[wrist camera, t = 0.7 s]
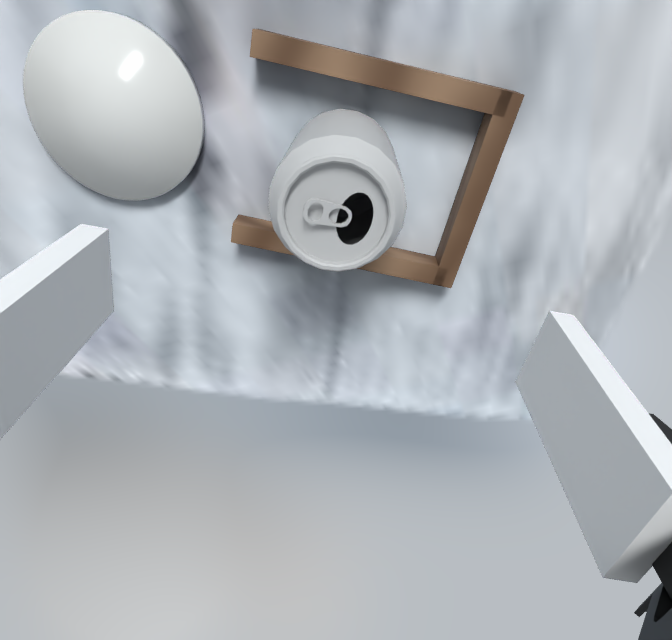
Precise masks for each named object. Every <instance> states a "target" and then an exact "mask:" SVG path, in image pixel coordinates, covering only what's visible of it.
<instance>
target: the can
mask: <svg viewBox="0 0 672 640" xmlns="http://www.w3.org/2000/svg"><path fill="white" fill-rule="evenodd" d="M406 208H407V203H406V195H405V187H404V182H403V179H402V176H401V172H400V169H399V166H398V162H397V159H396V156H395V152H394V149H393V146H392V144H391V142H390V140H389V138H388V136H387V134H386V132H385V131H384V130H383V128H382V127H381V126H380V125H379V124H378V123H377V122H376V121H375V120H374V119H372V118H370V117H369V116H367V115H365V114H363V113H361V112H359V111H354V110H347V109H336V110H331V111H326V112H323V113H321V114H319V115H318V116H316V117H314V118H313V119H311V120H309V121H308V122H307V123H306V124H305V126H304V127H303V128H302V129H301V130H300V132H299V133H298V134H297V135H296V137H295V139H294V140H293V142H292V144H291V145H290V147H289V149H288V151H287V152H286V154H285V156H284V157H283V159H282V161H281V162H280V164H279V166H278V167H277V170H276V172H275V175H274V178H273V180H272V183H271V185H270V188H269V206H268V210H269V214H270V217H271V221H272V225H273V228H274V231H275V232H276V234H277V235H278V237H279V238H280V240H281V241H282V243H283V245H284V246H285V247H286V248H287V249H288V250H289V251H290V252H292V253H293V254H294V255H295V256H296V257H298V258H299V259H300V260H301V261H303V262H304V263H307V264H309V265H311V266H314V267H316V268H318V269H320V270H328V271H336V272H340V271H346V270H352V269H357V268H360V267H362V266H364V265H366V264H368V263H370V262H372V261H374V260H376V259H378V258H379V257H380V256H381V255H382V254H383V253H384V252H385V251H386V250H388V249H389V248H390V247H391V246H392V245H393V243H394V241H395V240H396V238H397V236H398V234H399V232H400V231H401V229H402V227H403V223H404V218H405V213H406Z"/></svg>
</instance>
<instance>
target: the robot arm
mask: <svg viewBox="0 0 672 640" xmlns="http://www.w3.org/2000/svg"><path fill="white" fill-rule="evenodd" d="M113 312H114V303H113V288H112V274H111V259H110V244H109V229H107V228H101V227H96V226H90V225H85V224H80V225H79V226H77V227H76V228H74V229H73V230H71V231H70V232H69V233H67V234H66V235H64V236H63V237H61V238H60V239H58V240H57V241H55V242H54V243H53V244H51V245H50V246H48V247H47V248H45V249H44V250H42V251H41V252H39V253H38V254H37V255H35V256H34V257H32V258H31V259H29V260H28V261H26V262H25V263H23V264H22V265H20V266H19V267H18V268H16V269H15V270H13V271H12V272H10V273H9V274H7V275H6V276H4V277H3V278H2V279H0V440H1V438H2V437H3V436H4V435H5V434H6V433H7V432H8V431H9V429H10V428H11V427H12V426H13V425H14V424H15V423H16V421H17V420H18V419H19V418H20V417H21V416H22V415H23V413H24V412H25V411H26V410H27V409H28V408H29V407H30V406H31V404H32V403H33V402H34V401H35V400H36V399H37V398H38V396H39V395H40V394H41V393H42V392H43V391H44V390H45V389H46V387H47V386H48V385H49V384H50V383H51V382H52V381H53V380H54V378H55V377H56V376H57V375H58V374H59V373H60V372H61V371H62V369H63V368H64V367H65V366H66V365H67V364H68V363H69V361H70V360H71V359H72V358H73V357H74V356H75V355H76V354H77V352H78V351H79V350H80V349H81V348H82V347H83V346H84V344H85V343H86V342H87V341H88V340H89V339H90V338H91V337H92V335H93V334H94V333H95V332H96V331H97V330H98V329H99V327H100V326H101V325H102V324H103V323H104V322H105V321H106V320H107V318H108V317H109V316H110V315H111V314H112V313H113ZM515 382H516V384H517V386H518V389H519V391H520V393H521V395H522V398H523V400H524V402H525V404H526V407H527V409H528V411H529V413H530V416H531V418H532V420H533V422H534V425H535V427H536V429H537V431H538V433H539V436H540V438H541V440H542V442H543V445H544V447H545V449H546V451H547V454H548V456H549V458H550V460H551V463H552V465H553V467H554V469H555V472H556V474H557V476H558V478H559V481H560V483H561V485H562V487H563V490H564V492H565V494H566V496H567V498H568V501H569V503H570V505H571V508H572V510H573V512H574V514H575V517H576V519H577V521H578V523H579V525H580V528H581V530H582V532H583V535H584V537H585V539H586V541H587V543H588V546H589V548H590V550H591V552H592V555H593V557H594V559H595V561H596V564H597V566H598V568H599V570H600V573H601V575H602V577H603V578H609V579H615V580H621V581H628V582H634V583H637V582H638V581H639V580H640V579H641V578H642V577H643V576H644V575H645V574H646V572H647V571H648V570H649V569H650V568H651V567H652V566H653V567H654V569H655V571H656V573H657V574H658V576H659V578H660V580H661V582H662V583H661V584H660V585H659V586H658V587H657V588H656V589H655V591H654V592H653V593H652V594H651V595H650V596H649V597H648V598H647V599H646V600H645V601H644V602H643V603H642V604H641V605H640V606H639V608H638V609H637V610H636V611H635V612H634V613H635V614H636V615H637V616H639V617H640V616H641V615H642V614H643V613H644V612H647V613H646V616H645V620H644V623H643V626H642V629H641V632H640V635H639V639H638V640H672V429H670V428H669V427H668V426H667V425H666V424H664V423H663V422H662V421H661V420H660V419H658V418H657V417H656V416H655V415H654V414H649V413H648V412H647V411H646V410H645V408H644V407H643V406H642V404H641V403H640V402H639V400H638V399H637V398H636V397H635V395H634V394H633V393H632V391H631V390H630V389H629V387H628V386H627V385H626V383H625V382H624V381H623V379H622V378H621V377H620V375H619V374H618V373H617V371H616V370H615V369H614V367H613V366H612V365H611V364H610V362H609V361H608V360H607V358H606V357H605V356H604V354H603V353H602V352H601V350H600V349H599V348H598V346H597V345H596V344H595V342H594V341H593V340H592V338H591V337H590V336H589V334H588V333H587V332H586V330H585V329H584V328H583V327H582V325H581V324H580V323H579V321H578V320H577V319H576V317H575V316H574V315H571V314H565V313H560V312H555V311H549V313H548V315H547V317H546V319H545V321H544V323H543V325H542V327H541V329H540V331H539V333H538V335H537V338H536V340H535V342H534V344H533V346H532V348H531V350H530V352H529V354H528V356H527V358H526V360H525V362H524V365H523V367H522V369H521V371H520V373H519V375H518V377H517V379H516V381H515Z"/></svg>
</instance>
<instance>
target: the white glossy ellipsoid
mask: <svg viewBox="0 0 672 640" xmlns="http://www.w3.org/2000/svg"><path fill="white" fill-rule="evenodd" d="M23 90H24V98H25V104H26V108H27V112H28V115H29V118H30V121H31V123H32V126H33V128H34V131H35V132H36V134H37V136H38V138H39V140H40V142H41V143H42V145H43V146H44V148H45V149H46V151H47V152H48V154H49V155H50V156H51V157H52V158H53V160H54V161H55V162H56V163H57V164H58V165H59V166H60V167H61V168H62V169H63V170H64V171H65V172H66V173H67V174H69V175H70V176H71V177H72V178H73V179H75V180H76V181H78V182H79V183H81V184H82V185H84V186H85V187H87V188H89V189H91V190H93V191H95V192H97V193H100V194H102V195H105V196H108V197H111V198H115V199H121V200H131V201H139V200H147V199H151V198H155V197H158V196H160V195H163V194H165V193H167V192H169V191H170V190H172V189H173V188H175V187H176V186H177V185H178V184H179V183H181V182H182V181H183V180H184V179H185V178H186V177H187V176H188V174H189V173H190V172H191V171H192V169H193V167H194V166H195V164H196V162H197V160H198V158H199V155H200V152H201V149H202V145H203V139H204V113H203V106H202V102H201V98H200V95H199V92H198V89H197V86H196V84H195V81H194V79H193V77H192V75H191V73H190V71H189V70H188V68H187V67H186V65H185V63H184V62H183V60H182V59H181V58H180V56H179V55H178V54H177V53H176V51H175V50H174V49H173V48H172V47H171V46H170V45H169V44H168V43H167V42H166V41H165V40H164V39H163V38H162V37H161V36H160V35H158V34H157V33H156V32H155V31H153V30H152V29H150V28H149V27H147V26H146V25H144V24H142V23H141V22H139V21H137V20H134V19H132V18H130V17H128V16H125V15H121V14H118V13H114V12H108V11H100V10H83V11H77V12H72V13H69V14H66V15H63V16H61V17H59V18H57V19H56V20H54V21H52V22H51V23H50V24H48V25H47V26H46V27H45V28H44V29H43V30H42V31H41V32H40V33H39V35H38V36H37V37H36V39H35V40H34V42H33V44H32V45H31V47H30V50H29V52H28V55H27V58H26V62H25V67H24V75H23Z"/></svg>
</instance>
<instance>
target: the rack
mask: <svg viewBox="0 0 672 640" xmlns="http://www.w3.org/2000/svg"><path fill="white" fill-rule="evenodd" d="M250 57H253V58H258V59H262V60H266V61H270V62H274V63H278V64H283V65H287V66H291V67H295V68H299V69H304V70H308V71H312V72H316V73H320V74H325V75H329V76H333V77H337V78H341V79H345V80H350V81H354V82H358V83H362V84H366V85H371V86H375V87H379V88H383V89H387V90H392V91H396V92H400V93H404V94H408V95H412V96H417V97H421V98H425V99H429V100H433V101H438V102H442V103H446V104H450V105H454V106H459V107H463V108H467V109H471V110H475V111H480V112H484V113H485V114H484V116H483V119H482V122H481V125H480V128H479V131H478V134H477V137H476V140H475V142H474V145H473V148H472V151H471V154H470V157H469V160H468V163H467V166H466V169H465V171H464V174H463V177H462V180H461V183H460V186H459V189H458V192H457V195H456V197H455V200H454V203H453V206H452V209H451V212H450V215H449V218H448V221H447V223H446V226H445V229H444V232H443V235H442V238H441V241H440V244H439V247H438V249H437V252H436V255H435V256H430V255H426V254H421V253H416V252H412V251H407V250H402V249H398V248H393V247H390V248H389V249H388V250H386V251H385V252H384V253H383V254H382V255H381V256H380V257H379V258H378V259H376V260H374V261H372V262H370V263H368V264H366V265H364V266H362V267H360V268H357V269H362V270H367V271H371V272H376V273H381V274H386V275H390V276H395V277H400V278H405V279H410V280H414V281H419V282H424V283H429V284H433V285H438V286H443V287H448V288H451V287H452V285H453V282H454V279H455V277H456V274H457V271H458V269H459V266H460V264H461V261H462V258H463V256H464V253H465V250H466V248H467V245H468V242H469V240H470V237H471V235H472V232H473V229H474V227H475V224H476V221H477V219H478V216H479V213H480V211H481V208H482V206H483V203H484V200H485V198H486V195H487V192H488V190H489V187H490V184H491V182H492V179H493V177H494V174H495V171H496V169H497V166H498V163H499V161H500V158H501V155H502V153H503V150H504V148H505V145H506V142H507V140H508V137H509V134H510V132H511V129H512V126H513V124H514V121H515V119H516V116H517V113H518V111H519V108H520V105H521V103H522V100H523V97H524V95H523V94H521V93H518V92H515V91H511V90H507V89H503V88H499V87H495V86H491V85H487V84H482V83H478V82H474V81H470V80H466V79H462V78H458V77H454V76H450V75H445V74H441V73H437V72H433V71H429V70H425V69H421V68H417V67H413V66H409V65H404V64H400V63H396V62H392V61H388V60H384V59H380V58H376V57H372V56H367V55H363V54H359V53H355V52H351V51H347V50H343V49H339V48H335V47H330V46H326V45H322V44H318V43H314V42H310V41H306V40H302V39H298V38H293V37H289V36H285V35H281V34H277V33H273V32H269V31H265V30H261V29H253V30H252V40H251V50H250ZM231 242H233V243H237V244H242V245H247V246H252V247H257V248H261V249H266V250H271V251H276V252H280V253H285V254H290V255H294V254H293V253H292V252H290V251H289V250H288V249H287V248H286V247H285V246H284V245H283V243H282V241H281V240H280V238H279V237H278V235H277V234H276V232H275V231H274V228H273V225H272V222H271V221H267V220H262V219H257V218H253V217H248V216H243V215H238V216H237V218H236V219H235V221H234V222H233V226H232V236H231Z"/></svg>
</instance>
